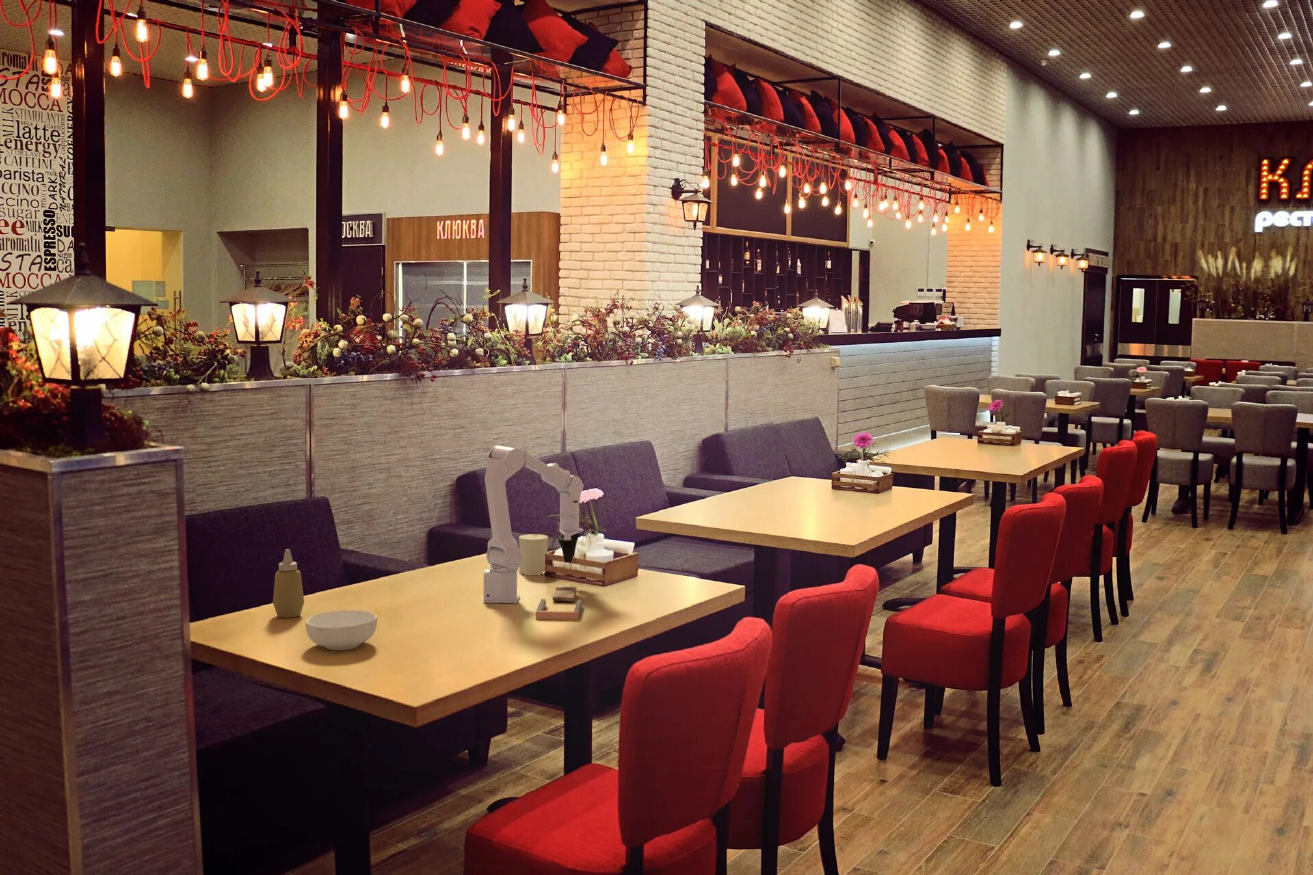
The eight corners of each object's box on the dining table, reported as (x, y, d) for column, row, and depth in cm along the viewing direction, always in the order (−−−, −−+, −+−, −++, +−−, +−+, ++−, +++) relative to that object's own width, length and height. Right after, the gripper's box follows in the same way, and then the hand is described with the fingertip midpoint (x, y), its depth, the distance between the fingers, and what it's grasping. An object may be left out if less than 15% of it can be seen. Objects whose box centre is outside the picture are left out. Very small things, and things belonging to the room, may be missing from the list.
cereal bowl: (350, 632, 297) (350, 605, 296) (391, 645, 286) (391, 616, 286) (292, 646, 284) (291, 618, 283) (332, 660, 273) (332, 630, 273)
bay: (535, 618, 312) (535, 611, 312) (541, 605, 326) (541, 598, 326) (578, 619, 312) (578, 612, 312) (582, 606, 326) (582, 599, 326)
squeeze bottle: (295, 620, 308) (293, 553, 306) (267, 618, 309) (265, 551, 307) (310, 612, 315) (308, 547, 313) (282, 610, 317) (281, 546, 315)
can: (550, 569, 372) (550, 533, 371) (544, 576, 363) (545, 538, 362) (522, 568, 373) (522, 532, 372) (515, 575, 364) (515, 537, 363)
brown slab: (552, 602, 330) (552, 594, 330) (556, 594, 340) (556, 586, 340) (573, 602, 330) (573, 594, 330) (576, 594, 340) (576, 586, 340)
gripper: (581, 519, 340) (580, 564, 341) (584, 510, 354) (584, 554, 355) (556, 518, 340) (556, 564, 341) (561, 510, 354) (561, 554, 356)
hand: (569, 559), depth 348 cm, fingers open, 7 cm apart
